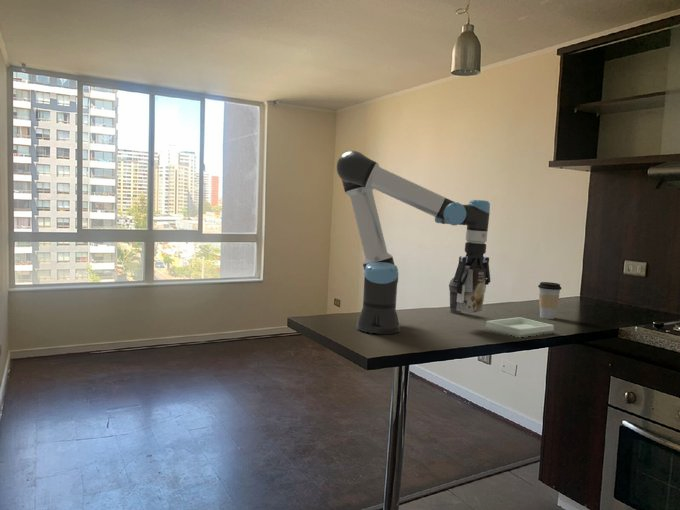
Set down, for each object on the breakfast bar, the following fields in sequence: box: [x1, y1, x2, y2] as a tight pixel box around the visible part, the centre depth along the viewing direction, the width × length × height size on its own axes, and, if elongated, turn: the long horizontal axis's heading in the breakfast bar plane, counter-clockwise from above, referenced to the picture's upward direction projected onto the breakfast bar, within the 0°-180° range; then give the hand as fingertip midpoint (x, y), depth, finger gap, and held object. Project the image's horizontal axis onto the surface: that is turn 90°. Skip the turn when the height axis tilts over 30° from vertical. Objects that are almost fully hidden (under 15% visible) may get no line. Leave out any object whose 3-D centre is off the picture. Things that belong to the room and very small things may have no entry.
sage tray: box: [485, 316, 555, 339], centre depth 192 cm, size 20×15×3 cm
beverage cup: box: [448, 277, 462, 315], centre depth 222 cm, size 7×7×20 cm
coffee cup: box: [537, 281, 562, 320], centre depth 221 cm, size 9×9×15 cm
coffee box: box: [456, 268, 486, 314], centre depth 190 cm, size 9×6×16 cm
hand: (470, 301), depth 191 cm, fingers closed on coffee box, 10 cm apart
